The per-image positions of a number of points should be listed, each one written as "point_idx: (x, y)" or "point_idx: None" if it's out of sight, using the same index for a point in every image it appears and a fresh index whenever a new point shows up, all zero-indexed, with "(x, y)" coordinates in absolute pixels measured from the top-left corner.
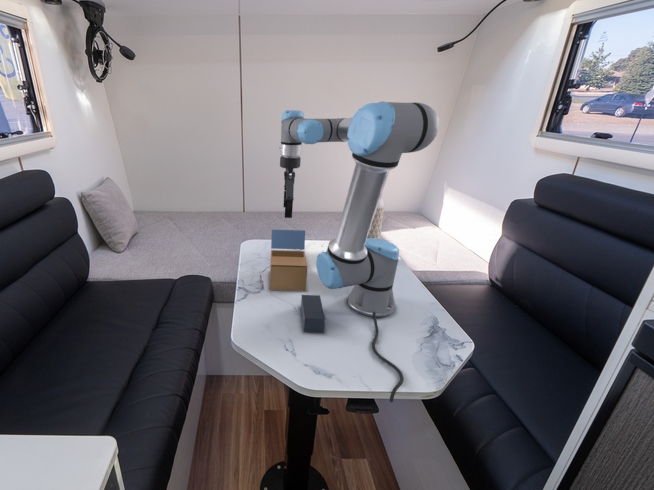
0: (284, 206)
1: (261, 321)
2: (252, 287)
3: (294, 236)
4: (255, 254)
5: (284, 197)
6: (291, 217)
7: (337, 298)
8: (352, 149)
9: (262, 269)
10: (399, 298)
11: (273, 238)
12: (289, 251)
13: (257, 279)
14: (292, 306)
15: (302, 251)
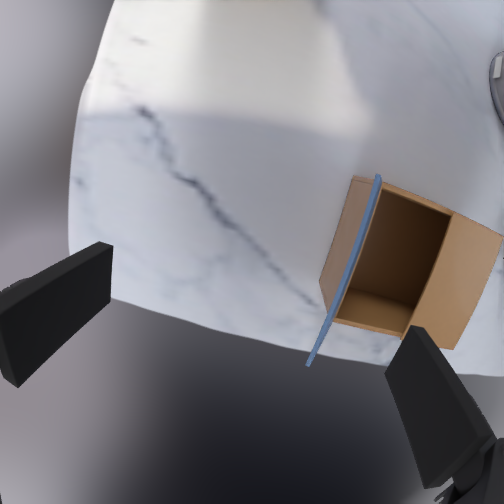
0: (106, 297)
1: (499, 342)
2: (391, 346)
3: (362, 238)
4: (173, 291)
5: (56, 344)
6: (423, 332)
7: (497, 151)
8: None
9: (295, 300)
10: (497, 23)
11: (324, 336)
12: (362, 248)
13: (355, 327)
14: (493, 274)
15: (380, 190)
